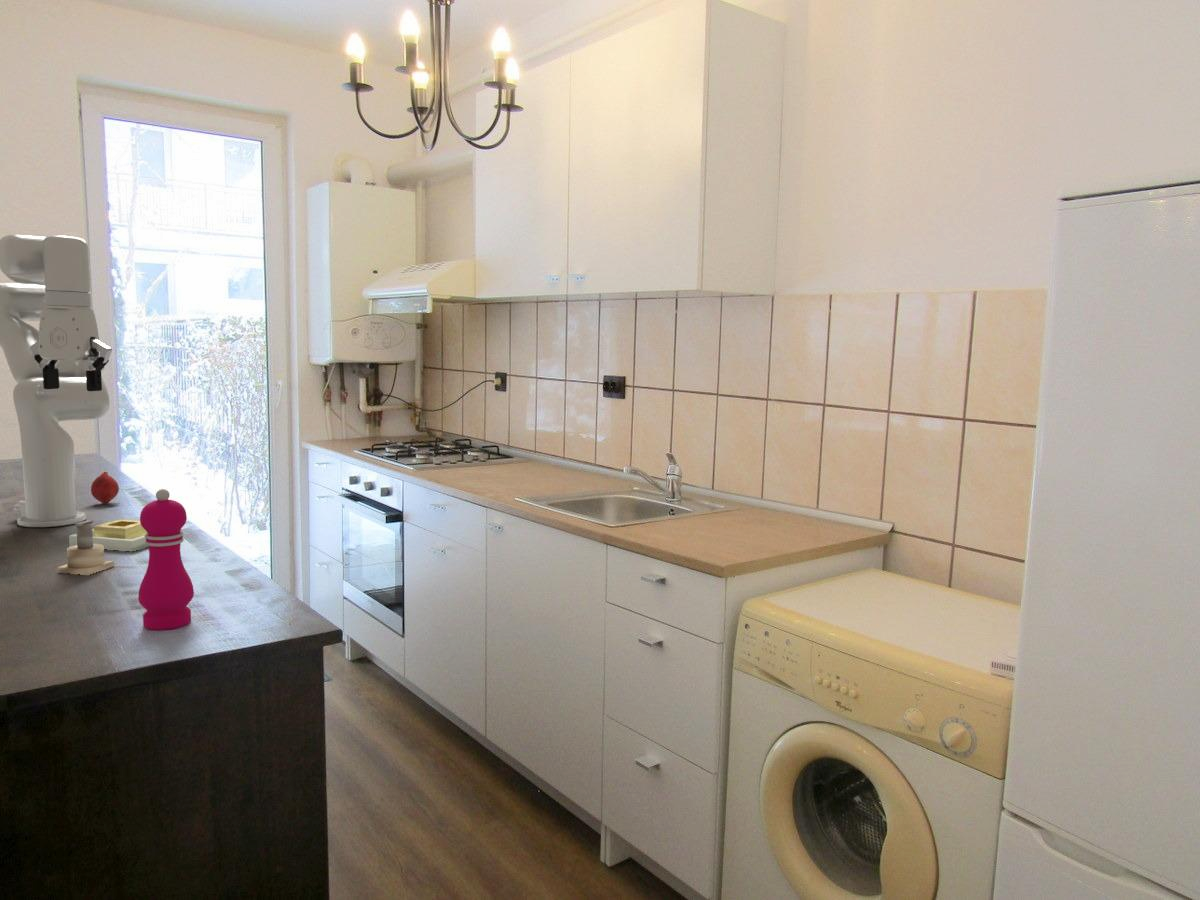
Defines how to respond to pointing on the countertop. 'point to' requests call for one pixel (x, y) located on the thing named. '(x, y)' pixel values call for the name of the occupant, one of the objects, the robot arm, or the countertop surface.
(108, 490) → the onion
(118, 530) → the ring
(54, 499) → the robot arm
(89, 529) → the beige post on base
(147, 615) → the pepper mill
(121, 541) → the tray
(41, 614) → the countertop surface
